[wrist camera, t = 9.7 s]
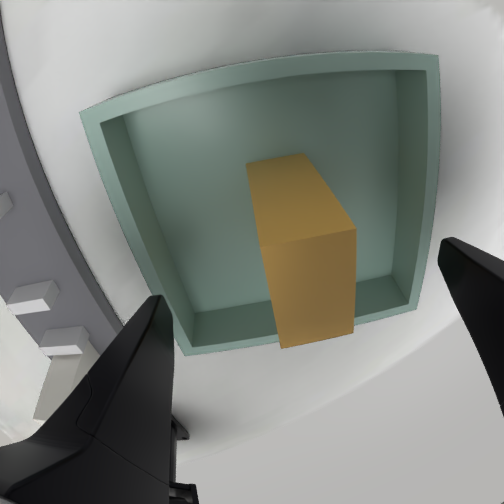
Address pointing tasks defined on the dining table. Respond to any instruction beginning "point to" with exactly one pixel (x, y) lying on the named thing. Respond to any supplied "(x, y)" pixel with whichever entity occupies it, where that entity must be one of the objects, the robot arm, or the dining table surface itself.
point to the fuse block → (42, 246)
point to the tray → (261, 148)
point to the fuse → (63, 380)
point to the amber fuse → (304, 250)
